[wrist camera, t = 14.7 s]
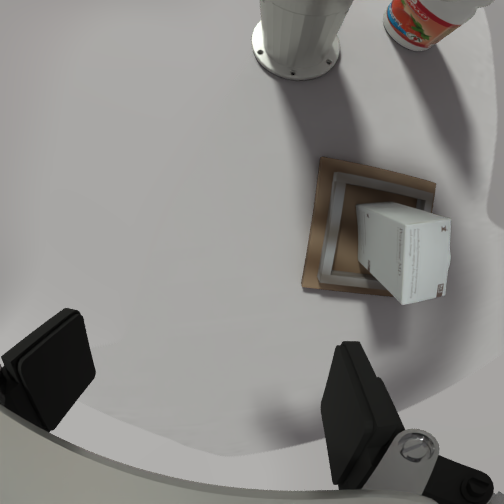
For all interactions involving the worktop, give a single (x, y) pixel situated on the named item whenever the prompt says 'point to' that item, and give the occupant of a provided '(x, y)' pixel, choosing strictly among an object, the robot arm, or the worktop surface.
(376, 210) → the skincare box
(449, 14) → the fruit juice
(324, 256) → the tray
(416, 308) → the worktop surface
